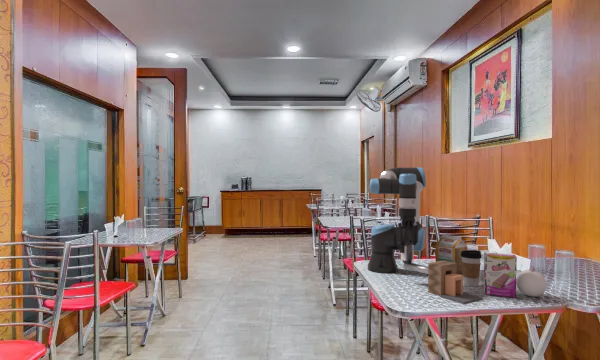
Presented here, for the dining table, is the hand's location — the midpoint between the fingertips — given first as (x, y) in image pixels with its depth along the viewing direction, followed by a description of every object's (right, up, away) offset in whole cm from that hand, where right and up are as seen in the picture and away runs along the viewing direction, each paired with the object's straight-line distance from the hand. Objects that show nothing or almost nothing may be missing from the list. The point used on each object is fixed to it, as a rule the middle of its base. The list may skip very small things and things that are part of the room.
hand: (407, 259), depth 165 cm
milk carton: (+26, -11, +16) cm, 33 cm away
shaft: (+4, -4, -7) cm, 10 cm away
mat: (+14, -10, -23) cm, 29 cm away
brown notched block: (+10, -10, -16) cm, 21 cm away
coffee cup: (+27, -11, -4) cm, 29 cm away
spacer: (+13, -6, -20) cm, 25 cm away
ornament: (+44, -10, -20) cm, 49 cm away
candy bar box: (+32, -10, -19) cm, 38 cm away
